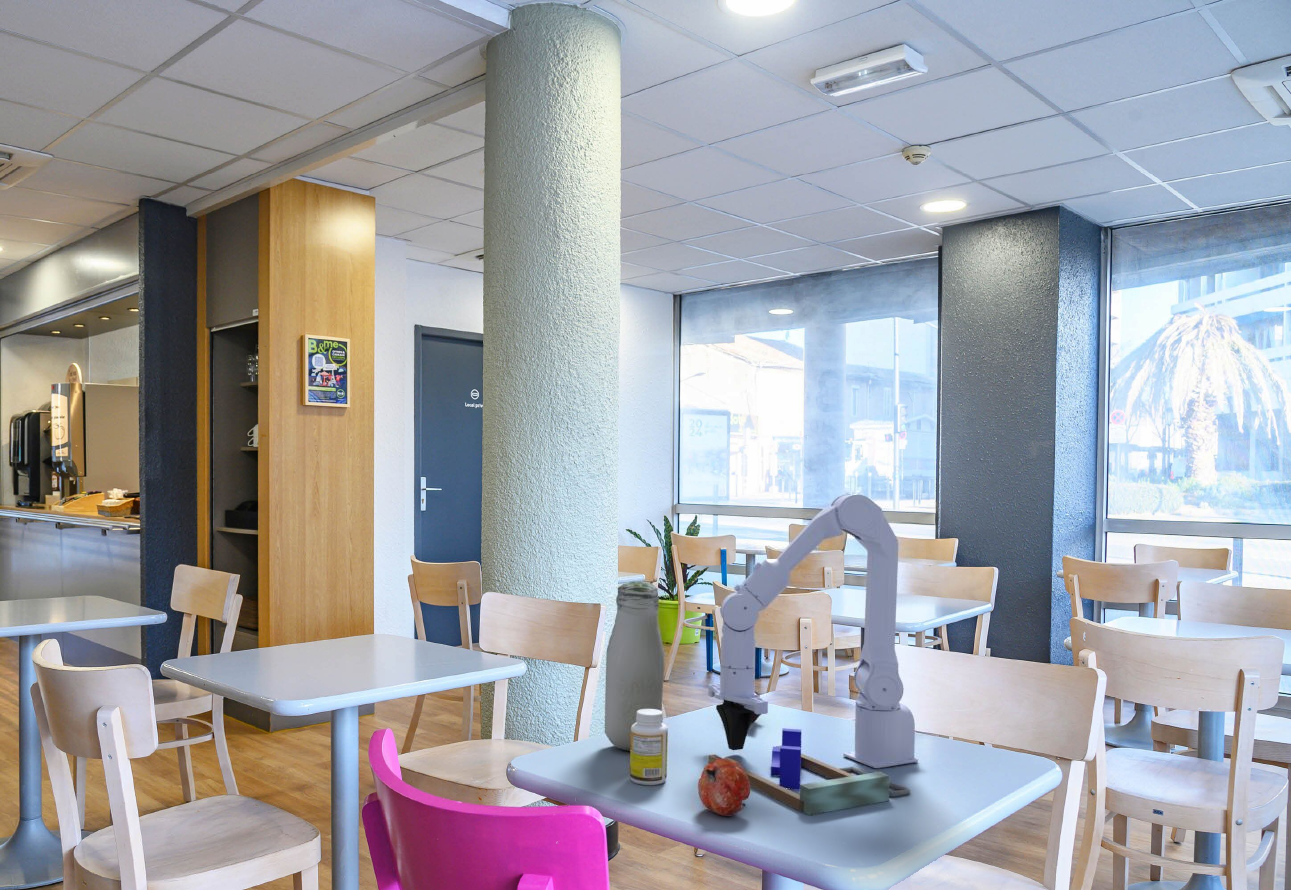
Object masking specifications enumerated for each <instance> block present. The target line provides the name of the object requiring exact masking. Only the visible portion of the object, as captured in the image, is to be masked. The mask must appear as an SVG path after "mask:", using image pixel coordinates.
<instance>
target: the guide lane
mask: <svg viewBox="0 0 1291 890" xmlns="http://www.w3.org/2000/svg"><path fill="white" fill-rule="evenodd" d="M780 746H781V745H777V746H775V747H780ZM722 758H723V757H721V756H719V755H717V754H710V755H708V760H707V761H708V764H712V763H714V762H715V760H717V759H722ZM708 764H707V765H708ZM742 768H743V767H742ZM801 768H804V769H806V768H807V770H809V769H810V770H809V771H811V772H813V773H815V772H816V773H815V774H818V775H821V776H822V775H823V777H825V778H827V780H820V781H814V782H809V783H803V784H802V783H801V784H800V790H799V794H798V793H797V792H794V791H792V790H791V789H786V788H784V787H782V786H780V785H779V784H778V783H775V782H773V781H772V780H769V779H767V778H765V777H763V776H761V775H759V774H757V773H754V772H753V771H750V770H749V769H747V768H743V770H744V771H745V773H746V775H747V776H748V779H749V783H750V787H751V786H752V787H751V788H753V789H755V788H756V789H755V790H757V789H758V791H759V790H760V792H761V793H763V792H764V793H763V794H765V793H766V794H765V795H767V794H768V795H767V796H769V795H770V797H771V796H772V798H773V797H774V799H775V798H776V800H777V801H779V800H780V802H781V801H782V802H781V803H783V802H784V803H783V804H785V805H787V804H788V805H787V806H789V807H791V806H792V807H791V808H794V809H795V808H796V809H795V810H797V809H798V810H797V811H799V810H800V812H801V813H803V812H804V813H803V814H805V813H806V815H808V816H812V815H817V814H818V813H819V814H824V813H831V812H834V811H838V810H839V811H841V810H847V809H850V808H856V807H861V806H866V805H867V806H868V805H871V804H872V805H873V804H877V803H883V802H887V801H888V802H889V801H890V796H889V790H890V787H889V781H890V775H888V774H886V773H884V772H881V771H875V772H871V773H870V772H868V773H869V774H863V775H860V774H858V775H854V774H852V773H850V772H845V771H842V770H840V768H837V767H835V766H832V765H830V764H828V763H826V762H822V761H820V760H819V759H815V758H813V757H810V756H808V755H806V754H804V753H801ZM823 812H824V813H823ZM811 814H812V815H811Z"/></svg>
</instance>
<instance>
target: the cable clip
mask: <svg viewBox="0 0 1291 890" xmlns="http://www.w3.org/2000/svg"><path fill="white" fill-rule="evenodd" d="M781 732H782V733H781V745H779V746H780V747H776V746H772V748H771V764H770V776H773V775H779V776H778V778H779V782H778V783H779V784H778V785H780V786H782V787H784V788H790V789H789V790H794V789H800V785H801V775H802V774H801V771H802V770H801V768H802V766H801V754H802V729H797V728H796V729H795V728H782V731H781Z"/></svg>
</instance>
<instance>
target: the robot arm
mask: <svg viewBox="0 0 1291 890" xmlns="http://www.w3.org/2000/svg"><path fill="white" fill-rule="evenodd" d="M844 533H845V534H848V535H850V536H852V537H854V539H855V540H856V541H857V542H858V543H859V544H860V545H861V546H862V547H863V548H864V549H865V550H866V551H867V553H866V554H867V557H866V583H865V584H866V586H865V608H864V611H865V612H864V632H863V633H864V634H863V635H864V636H863V638H864V639H863V645H862V648H861V650H860V659H859V664H858V665H857V667H856V669H855V672H854V673H853V682H854V685H855V687H856V689H857V691H859V694H858V697H857V698H856V699H855V711H854V712H855V713H854V714H855V715H854V716H855V717H854V718H855V719H854V720H855V723H854V727H855V728H854V751H853V750H852V751H847V752H843V754H842V755H843V757H845V758H848V759H850V760H853V761H856V762H858V763H861V764H864V765H866V766H869V767H872V768H874V769H881V768H887V767H894V766H899V765H906V764H913V763H918V762H919V759H918V758H917V757H915V737H916V736H915V735H916V734H915V733H916V732H915V731H916V729H915V728H916V727H915V726H916V725H915V724H916V723H915V717H914V715H913V712H912V711H911V709H910V708H909V707H908V706H907V705H906V704H903V703H901V700H902V698H903V696H904V688H905V687H904V683H903V681H902V678H901V677H900V674H899V661H898V660H899V659H898V656H897V653H896V648H895V647H896V644H895V643H896V624H897V623H896V621H897V619H896V617H897V597H898V595H897V594H898V592H897V591H898V569H899V568H898V567H899V566H898V563H899V540H898V538H897V535H896V534H895V532H894V530H893V528H892V527H891V526H890V524H889V522H888V520H887V519H886V517H885V514H884V512H883V509H882V508H881V506H879V505H878V504H877V502H874V501H873V500H872V499H871V498H869V497H868V496H866V495H863V494H857V493H855V494H850V493H848V494H847V493H846V494H841V495H838V496H837V497H836V498H835V499H833V501H832V502H831V504H830V505H827V506H825V507H823V509H822V510H821V511H819V512H818V513H817V514H816V515H815V516H814V517H813V518H811V520H810V521H809V522H808V523H807V524H806V525H805V527H804V528H802V530H801V531H800V532H799V533H798V534H797V535H796V537H794V539H793V540H792V541H791V542H790V543H789V545H788V546H787V547H786V548H785V549H784V550H783V551H782V552H781V553H780V554H779V555H778V556H777V558H765V559H764V560H763V561H762V562H759V561H757V562H756V563H754V564H753V566H752V567H753V569H754V570H753V571H752V572H751V573H750V574H749V575H748V577H747V578H745V579H744V581H742V583H741V584H739V583H736V585H735V586H734V587H733V590H734V591H735V592H733V593H730V594H728V595H727V596H726V597H725V598H724V599H723V601H722V602H721V606H720V608H719V611H720V616H721V618H722V619H723V622H722V627H721V634H722V636H721V638H720V640H721V641H720V667H719V668H720V672H719V673H720V676H719V677H720V678H719V680H720V682H719V683H714V684H708V690H707V691H708V693H707V695H708V697H709V698H715V699H717V700H720V701H723V702H722V703H720V704H716V706H715V709H716V711H717V713H718V715H719V717H720V720H721V722H722V725H723V728H724V733H725V738H726V741H727V742H726V743H727V747H728V749H729V750H732V751H739V750H740V751H741V750H743V749H744V746H745V742H746V739H747V735H748V731H749V729H750V726H751V724H752V723H751V722H752V720H753V718H754V717H755V715H756V714H761V715H766V714H768V711H769V710H768V709H769V702H768V701H767V700H765V699H764V698H762V697H761V696H760V697H759V696H758V695H757V694H756V693H754V691H755V682H756V681H755V679H756V677H755V676H756V675H755V673H756V671H755V670H756V638H755V625H756V624H757V623H758V620H759V617H760V616H759V615H760V612H761V611H764V610H766V609H767V608H768V607H769V606H770V605H771V603H773V602H774V601H775V600H776V598H777V597H779V596H780V595H781V594H782V592H784V590H785V589H786V588H787V587H788V586H789V585H790V584H791V572H792V571H793V570H794V569H795V568H796V567H797V566H799V564H800V563H802V561H803V560H804V559H806V558H807V556H809V555H810V554H811V553H812V552H813V551H814V550H815V549H816V548H817V547H818V546H819V545H820V544H821V543H822V542H824V541H825V540H828V539H832V538H835V537H840V536H843V535H844Z"/></svg>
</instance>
